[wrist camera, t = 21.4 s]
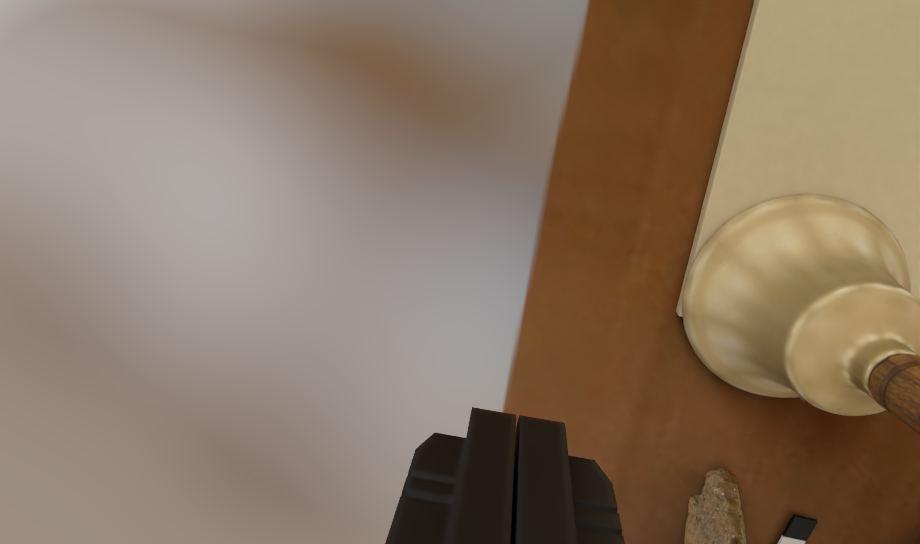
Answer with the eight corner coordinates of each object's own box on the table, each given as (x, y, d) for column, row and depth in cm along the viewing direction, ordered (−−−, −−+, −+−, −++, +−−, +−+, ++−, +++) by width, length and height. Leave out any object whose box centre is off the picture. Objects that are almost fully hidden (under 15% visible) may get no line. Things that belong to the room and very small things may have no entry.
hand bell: (846, 148, 22) (1600, 281, 6) (944, 330, 23) (1749, 791, 8) (641, 268, 24) (838, 581, 8) (742, 427, 25) (1066, 939, 10)
